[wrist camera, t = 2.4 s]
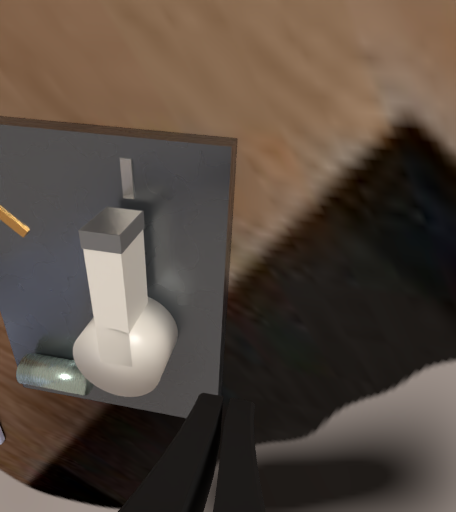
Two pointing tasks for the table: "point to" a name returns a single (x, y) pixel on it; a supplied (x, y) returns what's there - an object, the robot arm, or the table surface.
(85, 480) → the table surface
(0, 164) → the base plate
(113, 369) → the white long bulbous piece
